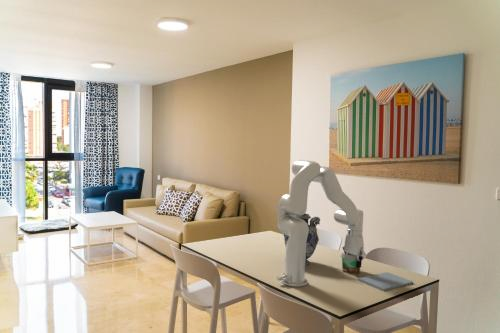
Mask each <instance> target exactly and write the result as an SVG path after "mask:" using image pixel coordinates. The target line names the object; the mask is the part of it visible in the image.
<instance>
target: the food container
mask: <svg viewBox="0 0 500 333" xmlns="http://www.w3.org/2000/svg"><path fill="white" fill-rule="evenodd" d="M340 257H341V261H342V262H341V263H342V272H343V273H346V274H351V275H352V274H353V275H354V274H355V275H356V274H359V273H360V270H361V268H356V261H357V257H356V256H355V255H352V254H345V253H344V252H342V253H341V255H340ZM359 258H360V256H359Z"/></svg>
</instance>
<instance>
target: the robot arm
mask: <svg viewBox="0 0 500 333" xmlns="http://www.w3.org/2000/svg"><path fill="white" fill-rule="evenodd" d="M291 171H292V173H293V175H294V177H293V178H292V180H291V184H290V189H289V193H286V194H282V196H281V197H280V198H279V201H278V204H277V205H278V207H277V228H278V230H279V232H281V233H282V234H283V235H284V234H286V235H289V239H288V241H287V245H286V246H285V265H284V266H285V270H284V272H283V274H282V275H281V276H277V277H276V281H279V282H280V281H281V283H282V284H284V285H286V286H289V287H295V288H297V287H298V288H300V287H304V286H307V284H308V281H309V280H307V278H305V275H306V274H305V273H306V265H305V257H306V241H307V236H308V232H309V227H308V224H309V223H308V224H307V223H306V222H305V221H304V220H302V219H300V218H296V217H294V215H297V216H302V215H304V214H305V213H306V212H307V209H308V195H309V194H308V193H309V187H310V185H311V183H312V182H314V183H319V184H320V185H321V187H322V189H323V191H324V194H325V196H326V198H327V199H328V201H330V202H331V203H332V204H334V205H336V206H337V207H339V209H337V210H336V211H334V214H333V218H334V221H335V222H337V223H338V224H341V225H345V226H347V229H346V231H347V233H346V235H345V239H344V245H343V247H342V251H343V254H352V255H355V256H356V257H357V261H356V268H360V269H361V268H362V261H363V260H364V259H365V257H367V254H366V252H365V251H364V250H365V246H364V244H365V243H364V236H363V230H364V227H363V224H364V211H363V210H362V209H359V208H357V206H356V204H355V202H353V201H352V199H351V198H350V197H349V196H348V195H347V194H346V193H345V192H344V191H343V189H342V185H341V184H340V182H339V180H338V177H337V176H336V173H335V171H334V170H333V169H332V168H331V167H329V166H322V165H320V164H319V163H318V162H316V161H314V160H304V159H299V160H296V161H294V162H293V163H292V165H291ZM306 214H307V213H306ZM359 256H360V258H359Z"/></svg>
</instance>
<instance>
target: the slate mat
mask: <svg viewBox="0 0 500 333" xmlns="http://www.w3.org/2000/svg"><path fill="white" fill-rule="evenodd" d="M357 281H359V282H361V283H363V284H366V285H368V286H371V287H373V288H375V289H377V290H381V291H382V292H386V291H389V290H393V289H397V287H398V288H400V287H405V286H409V285H413V284H414V281H412V280H411V279H407V278H405V277H402V276H399V275H397V274H393V273H391V272H388V271H386V272H380V273H376V274H373V275H372V274H371V275H367V276H364V277H358V278H357ZM412 283H413V284H412ZM408 284H409V285H408ZM404 285H405V286H404Z"/></svg>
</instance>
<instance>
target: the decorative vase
mask: <svg viewBox="0 0 500 333" xmlns="http://www.w3.org/2000/svg"><path fill="white" fill-rule="evenodd" d="M294 217H296V218H300V219H302V220H304V221H305V222H306V223H307V224H308V227H309V232H308V236H307V241H306V257H305V266H307V265H309V264H310V261H309V260H308V259H310V258H311V257H312V256H313V255H314V253H315V250H316V248H317V246H318V244H319V240H320V239H319V235H318V228H317V225H320V224H321V223H320V221H321V219H320V217H319V216H314V217H311V216H310V214H308V213H305V214H304V215H302V216H297V215H294ZM283 237H284V245H285V247H286V245H287V241H288V239H289V235H286V234H284V233H283Z"/></svg>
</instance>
